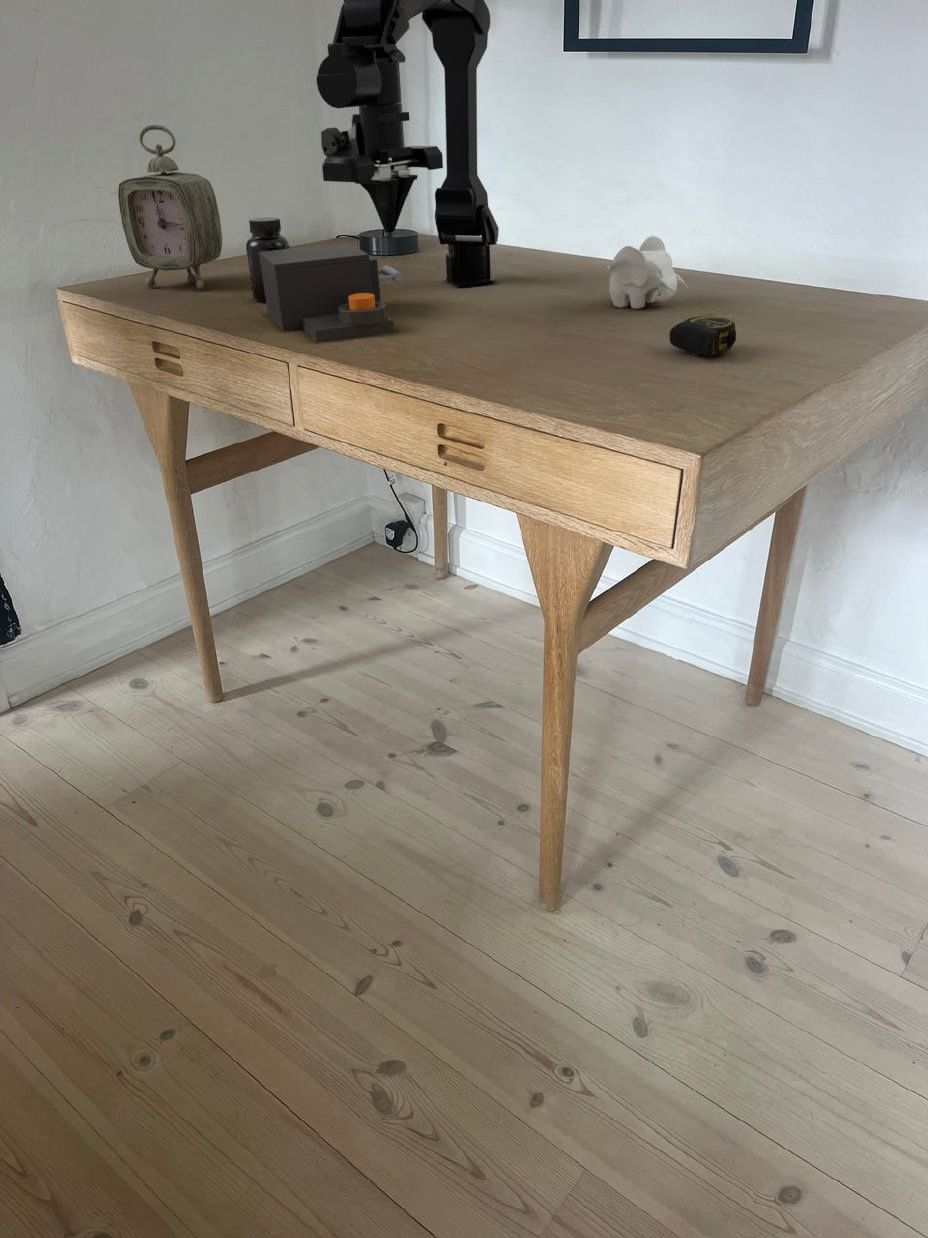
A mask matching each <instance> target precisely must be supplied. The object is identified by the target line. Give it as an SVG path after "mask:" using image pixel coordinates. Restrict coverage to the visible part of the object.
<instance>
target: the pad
mask: <svg viewBox="0 0 928 1238" xmlns="http://www.w3.org/2000/svg"><path fill="white" fill-rule="evenodd" d="M338 312H339V313H338V314H330V315H323V316H315V317H307V318H302V321H303V329H302V330H303V331H304V332H305V333H306V334H307V335H308V336H309V337H310V338H311V339H312V340H313V341H315V343H324V342H331V341H338V340H344V339H345V340H346V339H352V338H360V337H366V336H374V335H375V336H376V335H380V334H389V333H394V320H393V319H392V318H391V317H389V316H388V306H387V304H386V303H385V302H383V301H381V302H377V301H375V308H372V309H365V310H352V309H349V303H347V304H343V305H341V306H340V307H339V308H338Z"/></svg>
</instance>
